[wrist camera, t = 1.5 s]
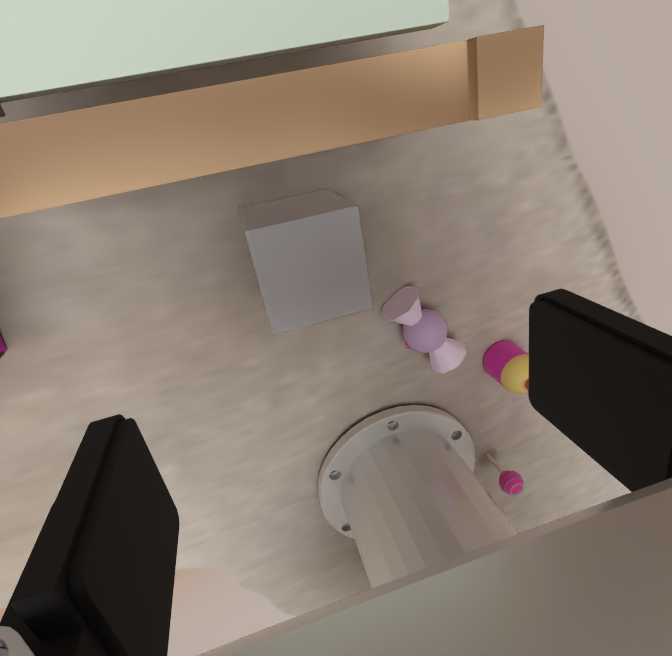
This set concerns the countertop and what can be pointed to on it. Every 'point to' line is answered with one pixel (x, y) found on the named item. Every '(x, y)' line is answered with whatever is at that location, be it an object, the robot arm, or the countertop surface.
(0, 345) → the candy bar box
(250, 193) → the countertop surface
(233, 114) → the frame
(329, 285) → the light gray block
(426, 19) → the trapdoor
